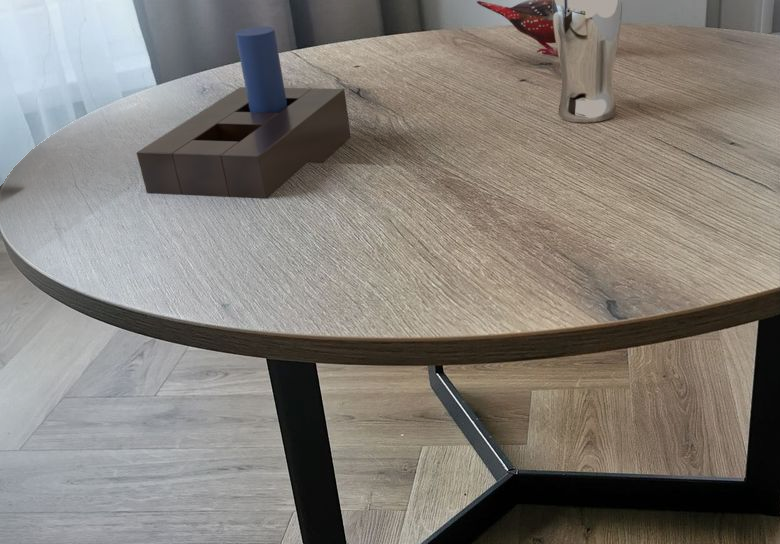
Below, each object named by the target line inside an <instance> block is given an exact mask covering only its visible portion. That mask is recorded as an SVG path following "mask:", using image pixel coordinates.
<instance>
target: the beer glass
mask: <svg viewBox="0 0 780 544" xmlns="http://www.w3.org/2000/svg"><path fill="white" fill-rule="evenodd" d="M622 15H623V0H552V16H553V27H554V35H555V41H556V43H555V45H556V50H557V51H558V56H557V57H558V61H559V67H560V75H561V93H560V99H559V105H558V116H559V117H560V118H561V119H563V120H565V121H567V122H571V123H582V124H583V123H584V124H588V123H599V122H604V121H608V120H611V119H612V118H614V116H616V114H617V105H616V104H617V103H616V99H615V93H614V68H615V62H616V57H617V51H618V47H619V41H620V35H621V26H622Z"/></svg>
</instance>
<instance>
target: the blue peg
mask: <svg viewBox="0 0 780 544" xmlns="http://www.w3.org/2000/svg"><path fill="white" fill-rule="evenodd" d="M275 30H276V29H275V28H274V27H271V26H252V27H245V28H241V29H239V30H237V31H236V32H235V39H236V44H237V49H238V55H239V60H240V66H241V71H242V76H243V82H244V87H246V92H247V98H248V103H249V108H250V112H260V113H280V112H281V111H282V110H284V109H285V108H286V107H287V101H286V95H285V89H284V88H285V84H284V83H285V82H284V78H283V71H282V66H281V59H280V54H279V48H278V42H277V37H276V36H277V35H276V31H275Z"/></svg>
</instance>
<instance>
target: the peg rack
mask: <svg viewBox="0 0 780 544" xmlns="http://www.w3.org/2000/svg"><path fill="white" fill-rule="evenodd" d="M284 89H285V95H286V101H287V107H286V108H285V109H284V110H282V111H281V112H280V113H260V112H250V108H249V103H248V98H247V92H246V87H245V86H240V87H238V88H236V89H235V90H233V91H232V92H230V93H228V94H227V95H225V96H224V97H222V98H221V99H219V100H217V101H215V103H213V104H211V105H209V106H207V107H206V108H205V109H203V110H201V111H200V112H198V113H196V114H195V115H193V116H192V117H190V118H188V119H187V120H186V121H184V122H183V123H181V124H179V125H177V126H176V127H174V128H173V129H171V130H169V131H168V132H166V133H165V134H163V135H161V136H160V137H158V138H157V139H155V140H153V141H152V142H151V143H149V144H147V145H146V146H144V147H143V148H141V149H139V150H138V151H136V157H137V160H138V164H139V169H140V172H141V176H142V180H143V184H144V187H145V191H146V194H152V195H154V194H155V195H174V196H195V197H196V196H197V197H219V198H240V199H241V198H244V199H263V200H264V199H265V200H266V199H268V198H269V197H270V196H272V195H273V194H274V193H275V192H276V191H277V190H278V189H280V188H281V186H283V185H284V184H285V183H287V181H288V180H290V179H291V178H292V177H293V176H294V175H295V174H297V173H298V172H299V171H300V170H301V169H302V168H303V167H304V166H305V165H307V164H322V163H324V162H325V161H326V160H327V159H328V158H329V157H330V156H331V155H332V154H334V153H335V151H337V150H338V149H339V148H340V147H341V146H342V145H343V144H344V143H346V142H347V141H348V140H349V139H350V138H351V137H352V136H351V135H352V134H351V128H350V122H349V121H350V120H349V115H348V107H347V100H346V98H347V97H346V92H345V88H319V87H318V88H317V87H316V88H312V87H311V88H310V87H284Z"/></svg>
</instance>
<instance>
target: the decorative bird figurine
mask: <svg viewBox="0 0 780 544" xmlns="http://www.w3.org/2000/svg"><path fill="white" fill-rule="evenodd" d="M476 3H477V4H478V5H479V6H481V7H483V8H485V9H488V10H490V11H491V12H493V13H496V14H498V15H501V16H502V17H503V18H505V19H506V20H507V21H508V22H509V23H510V24H511V25H513V26H514V28H515V29H516V30H517V31H518V32H520V33H521V34H524V35H526V36H528V37H530V38H532V39H533V40H535V42H538V44H539V45H541V46H542V47H544V48H540V49H538V50H537V51H536V53H540V52H541V54H542V55H553V56H556V57H559V56H558V51H557V49H555V48H554V47H552V45H551V46H550V44H556V41H555V35H554V27H553V16H552V0H525V1H522V2H520V3H517V4H516V5H514V6H512V7H508V6H503V5H500V4H495V3H490V2H486V1H481V0H478V1H476Z"/></svg>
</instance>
